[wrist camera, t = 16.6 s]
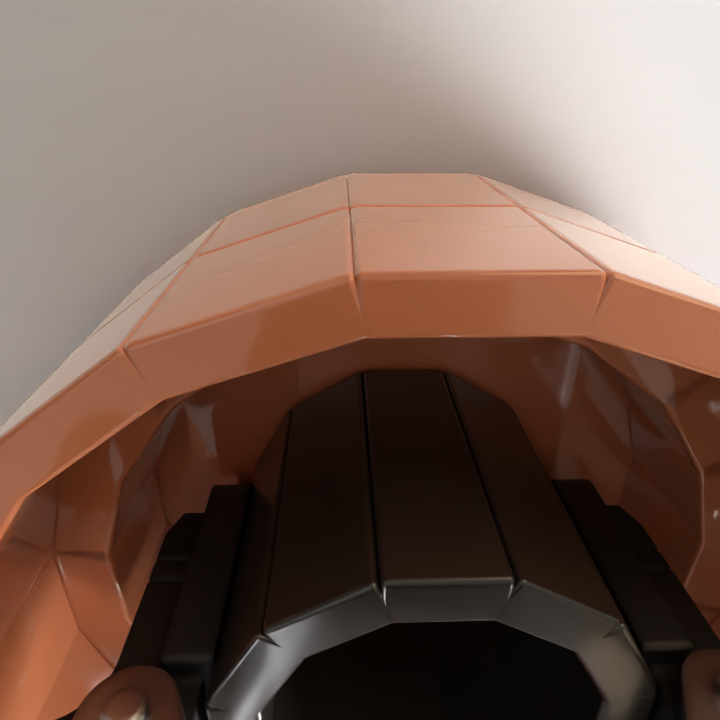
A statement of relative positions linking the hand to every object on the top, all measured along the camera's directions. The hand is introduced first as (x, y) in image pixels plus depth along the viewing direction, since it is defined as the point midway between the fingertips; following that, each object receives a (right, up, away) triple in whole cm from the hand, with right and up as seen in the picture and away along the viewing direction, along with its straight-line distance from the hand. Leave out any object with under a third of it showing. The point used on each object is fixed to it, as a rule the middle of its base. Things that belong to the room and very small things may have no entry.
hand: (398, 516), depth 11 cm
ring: (0, 0, +1) cm, 1 cm away
